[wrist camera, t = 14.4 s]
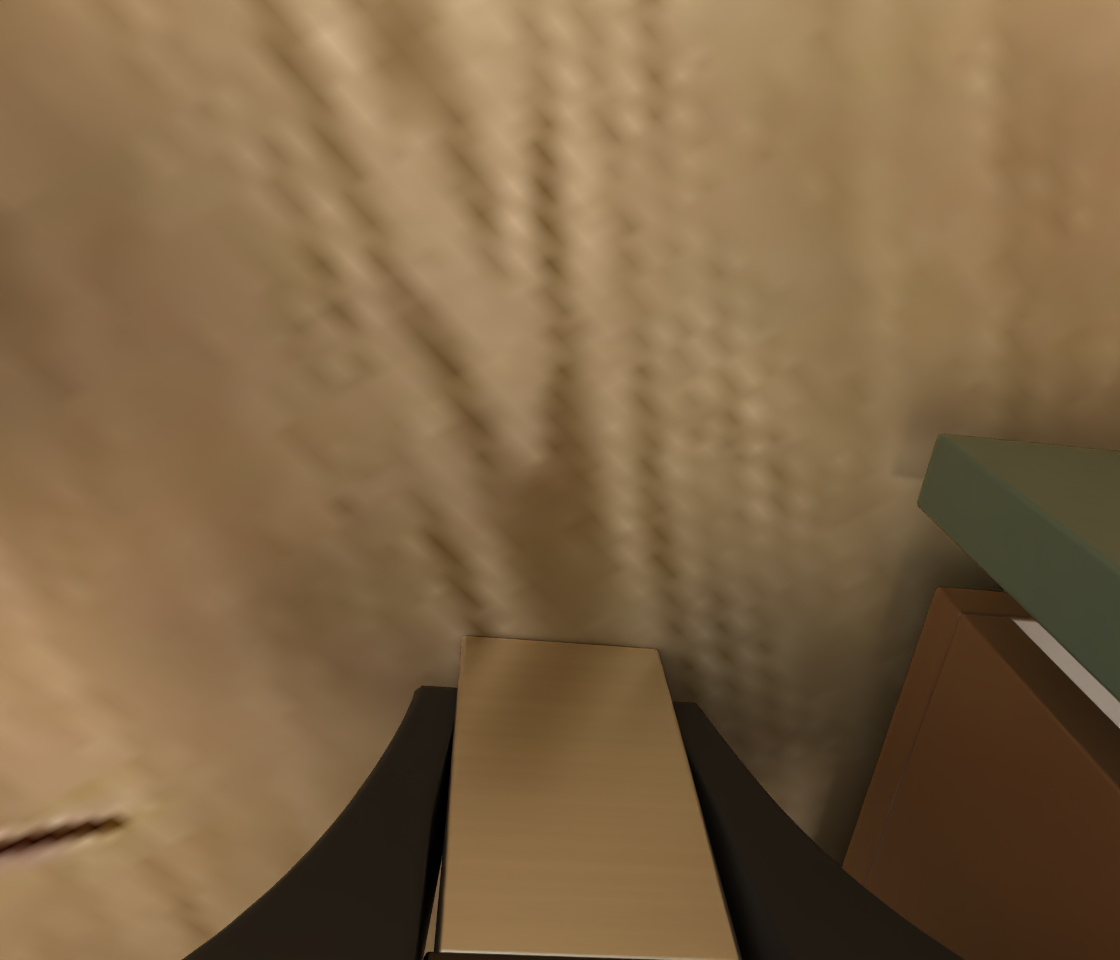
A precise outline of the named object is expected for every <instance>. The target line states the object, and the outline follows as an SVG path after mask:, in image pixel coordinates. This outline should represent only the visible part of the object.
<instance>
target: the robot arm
mask: <svg viewBox="0 0 1120 960" xmlns="http://www.w3.org/2000/svg"><path fill="white" fill-rule="evenodd" d="M457 690H458V688H451V687H435V686H421V687H420V688H418V689H417V690H416V691H415V693H414V696H413V699H412V702H411V704H410V706H409V708H408V711H407V713H406V715H405V717H404V719H403V721H402V723H401V725H400V727H399V728H398V730H397V732H396V734H395V736H394V737H393V739H392V741H391V742H390V744H389V746H388V747H387V749H386V750H385V752H384V754H383V755H382V757H381V758H380V760H379V762H378V763H377V765H376V766H375V768H374V769H373V771H372V772H371V774H370V775H369V777H368V778H367V779H366V781H365V782H364V784H363V785H362V786H361V788H360V789H359V790H358V792H357V793H356V795H355V796H354V797H353V799H352V800H351V801H350V803H349V804H348V805H347V807H346V808H345V809H344V810H343V812H342V813H341V814H340V815H339V817H338V818H337V819H336V820H335V822H334V823H333V824H332V825H331V826H330V828H329V829H328V830H327V831H326V832H325V833H324V834H323V836H322V837H321V838H320V839H319V840H318V841H317V842H316V843H315V845H314V846H313V847H312V848H311V849H310V850H309V851H308V852H307V853H306V854H305V855H304V856H303V857H302V858H301V859H300V860H299V861H298V862H297V863H296V864H295V865H294V866H293V867H292V868H291V870H290V871H289V872H288V873H287V874H286V875H285V876H284V877H282V878H281V879H280V880H279V881H278V882H277V883H276V884H275V885H274V886H273V887H272V888H271V889H270V890H269V891H268V892H266V893H265V894H264V895H263V896H262V897H261V898H259V899H258V900H257V901H256V902H255V903H254V904H252V905H251V906H250V907H249V908H248V909H247V910H245V911H244V912H243V913H242V914H241V915H240V916H239V917H237V918H236V919H235V920H234V921H233V922H232V923H230V924H229V925H228V926H227V927H225V928H224V929H223V930H222V931H220V932H219V933H218V934H217V935H215V936H214V937H213V938H211V939H210V940H208V941H207V942H206V943H204V944H203V945H202V946H200V947H199V948H197V949H196V950H195V951H193V952H192V953H191V954H189V955H188V956H187V957H185V958H184V959H182V960H423V955H424V950H425V945H426V939H427V934H428V929H429V924H430V918H431V913H432V908H433V902H434V897H435V892H436V886H437V881H438V876H439V870H440V865H441V860H442V854H443V844H444V833H445V822H446V811H447V800H448V789H449V778H450V767H451V756H452V745H453V734H454V723H455V712H456V701H457ZM672 704H673V707H674V711H675V714H676V718H677V722H678V725H679V729H680V733H681V736H682V740H683V744H684V747H685V751H686V755H687V758H688V762H689V766H690V769H691V773H692V777H693V780H694V784H695V788H696V791H697V795H698V799H699V802H700V806H701V810H702V813H703V817H704V821H705V824H706V828H707V832H708V835H709V839H710V843H711V846H712V850H713V854H714V857H715V861H716V865H717V868H718V872H719V876H720V879H721V883H722V887H723V890H724V894H725V898H726V901H727V905H728V909H729V912H730V916H731V920H732V923H733V927H734V931H735V934H736V938H737V942H738V945H739V949H740V953H741V956H742V960H965V959H963V958H962V957H960V956H958V955H957V954H955V953H954V952H952V951H951V950H949V949H948V948H946V947H945V946H943V945H942V944H941V943H939V942H938V941H936V940H935V939H933V938H932V937H930V936H929V935H927V934H926V933H924V932H923V931H921V930H920V929H918V928H917V927H916V926H914V925H913V924H912V923H910V922H909V921H907V920H906V919H905V918H903V917H902V916H900V915H899V914H898V913H896V912H895V911H894V910H893V909H891V908H890V907H889V906H888V905H886V904H885V903H884V902H882V901H881V900H880V899H879V898H877V897H876V896H875V895H874V894H872V893H871V892H870V891H868V890H867V889H866V888H865V887H863V886H862V885H861V884H860V883H859V882H858V881H856V880H855V879H854V878H853V877H852V876H850V875H849V874H848V873H847V872H846V871H845V870H844V869H842V868H841V867H840V866H839V865H838V864H837V863H836V862H835V861H834V860H833V859H831V858H830V857H829V856H828V855H827V854H826V853H825V852H824V851H823V850H822V849H821V848H819V847H818V846H817V845H816V844H815V843H814V842H813V841H812V840H811V839H810V838H809V837H808V836H807V835H806V834H805V833H804V832H803V831H802V830H801V829H800V828H799V827H798V826H797V825H796V824H795V823H794V821H793V820H792V819H791V818H790V817H789V816H788V815H787V814H786V813H785V812H784V811H783V810H782V809H781V808H780V807H779V806H778V804H777V803H776V802H775V801H774V800H773V799H772V798H771V797H770V795H769V794H768V793H767V792H766V791H765V790H764V788H763V787H762V786H761V785H760V784H759V782H758V781H757V780H756V779H755V778H754V776H753V775H752V774H751V773H750V772H749V770H748V769H747V768H746V767H745V766H744V764H743V763H742V762H741V761H740V759H739V758H738V757H737V755H736V754H735V753H734V752H733V750H732V749H731V748H730V747H729V745H728V744H727V743H726V741H725V740H724V739H723V738H722V736H721V735H720V734H719V732H718V731H717V730H716V728H715V727H714V726H713V724H712V723H711V722H710V721H709V719H708V718H707V717H706V715H705V714H704V713H703V711H702V710H701V709H700V708H699V706H698V705H697V704H696V703H688V702H672Z"/></svg>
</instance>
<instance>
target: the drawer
mask: <svg viewBox="0 0 1120 960" xmlns="http://www.w3.org/2000/svg"><path fill="white" fill-rule="evenodd" d="M917 504H918V507H919V508H920V509H921V510H922V511H923V512H924V513H925V514H926V515H927V516H928V517H930V518H931V519H932V520H933V521H934V522H935V523H936V524H937V525H938V526H939V527H940V528H941V529H942V530H943V531H944V532H945V533H946V534H947V535H948V536H949V537H950V538H951V539H952V540H953V541H954V542H955V543H956V544H957V545H958V546H959V547H960V548H961V549H962V550H963V551H964V552H966V553H967V554H968V555H969V556H970V557H971V558H972V559H973V560H974V561H975V562H976V563H977V564H978V565H979V566H980V567H981V568H982V569H983V570H984V571H985V572H986V573H987V574H988V575H989V576H990V577H991V578H992V579H993V580H994V581H995V582H996V583H997V584H998V585H999V586H1000V587H1002V588H1003V589H1004V590H1005V591H1006V592H998V591H985V590H972V589H960V588H947V587H938V588H937V589H936V591H935V594H934V596H933V599H932V602H931V605H930V608H929V611H928V614H927V617H926V620H925V623H924V626H923V629H922V632H921V635H920V638H919V641H918V644H917V647H916V650H915V653H914V656H913V659H912V661H911V664H910V667H909V670H908V673H907V676H906V679H905V682H904V685H903V688H902V691H901V694H900V697H899V700H898V703H897V706H896V709H895V712H894V715H893V718H892V721H891V724H890V726H889V729H888V732H887V735H886V738H885V741H884V744H883V747H882V750H881V753H880V756H879V759H878V762H877V765H876V768H875V771H874V774H873V777H872V780H871V783H870V786H869V789H868V792H867V794H866V797H865V800H864V803H863V806H862V809H861V812H860V815H859V818H858V821H857V824H856V827H855V830H854V833H853V836H852V839H851V842H850V845H849V848H848V851H847V854H846V857H845V859H844V862H843V865H842V869H844V870H845V871H846V872H847V873H848V874H849V875H850V876H852V877H853V878H854V879H855V880H856V881H858V882H859V883H860V884H861V885H862V886H863V887H865V888H866V889H867V890H868V891H870V892H871V893H872V894H874V895H875V896H876V897H877V898H879V899H880V900H881V901H882V902H884V903H885V904H886V905H888V906H889V907H890V908H891V909H893V910H894V911H895V912H896V913H898V914H899V915H900V916H902V917H903V918H905V919H906V920H907V921H909V922H910V923H912V924H913V925H914V926H916V927H917V928H918V929H920V930H921V931H923V932H924V933H926V934H927V935H929V936H930V937H932V938H933V939H935V940H936V941H938V942H939V943H941V944H942V945H943V946H945V947H946V948H948V949H949V950H951V951H952V952H954V953H955V954H957V955H958V956H960V957H962V958H963V959H965V960H1120V451H1113V450H1103V449H1093V448H1082V447H1072V446H1062V445H1052V444H1041V443H1031V442H1021V441H1011V440H1001V439H990V438H980V437H970V436H960V435H949V434H941V435H939V436H938V437H937V440H936V443H935V446H934V449H933V453H932V456H931V459H930V462H929V465H928V469H927V472H926V475H925V478H924V481H923V485H922V488H921V491H920V494H919V497H918V500H917Z"/></svg>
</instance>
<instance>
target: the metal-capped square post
mask: <svg viewBox="0 0 1120 960" xmlns="http://www.w3.org/2000/svg"><path fill="white" fill-rule="evenodd" d="M423 960H742V956H741V953H740V949H739V945H738V942H737V938H736V934H735V931H734V927H733V923H732V920H731V916H730V912H729V909H728V905H727V901H726V898H725V894H724V890H723V887H722V883H721V879H720V876H719V872H718V868H717V865H716V861H715V857H714V854H713V850H712V846H711V843H710V839H709V835H708V832H707V828H706V824H705V821H704V817H703V813H702V810H701V806H700V802H699V799H698V795H697V791H696V788H695V784H694V780H693V777H692V773H691V769H690V766H689V762H688V758H687V755H686V751H685V747H684V744H683V740H682V736H681V733H680V729H679V725H678V722H677V718H676V714H675V711H674V707H673V704H672V700H671V696H670V693H669V689H668V685H667V682H666V678H665V674H664V671H663V667H662V663H661V660H660V656H659V652H658V651H657V650H655V649H648V648H634V647H620V646H605V645H591V644H577V643H562V642H548V641H534V640H520V639H505V638H491V637H477V636H465V637H464V638H463V640H462V646H461V657H460V668H459V679H458V690H457V701H456V712H455V723H454V734H453V745H452V756H451V767H450V778H449V789H448V800H447V811H446V822H445V833H444V844H443V855H442V866H441V877H440V888H439V899H438V910H437V921H436V932H435V944H434V952H427V953H426V955H425V956H424V958H423Z"/></svg>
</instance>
